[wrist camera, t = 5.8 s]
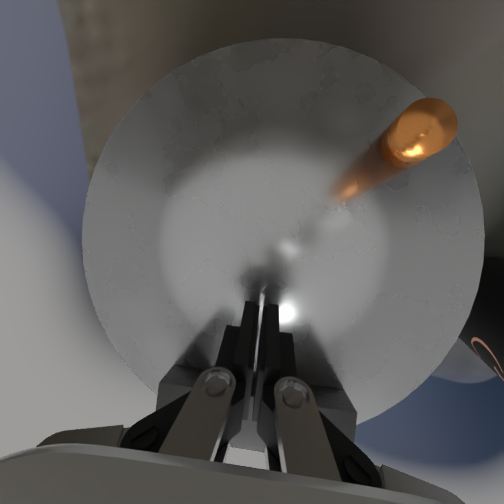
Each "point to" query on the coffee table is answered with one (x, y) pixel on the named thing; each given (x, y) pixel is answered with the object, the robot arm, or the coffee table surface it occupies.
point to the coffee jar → (488, 317)
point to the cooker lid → (286, 224)
